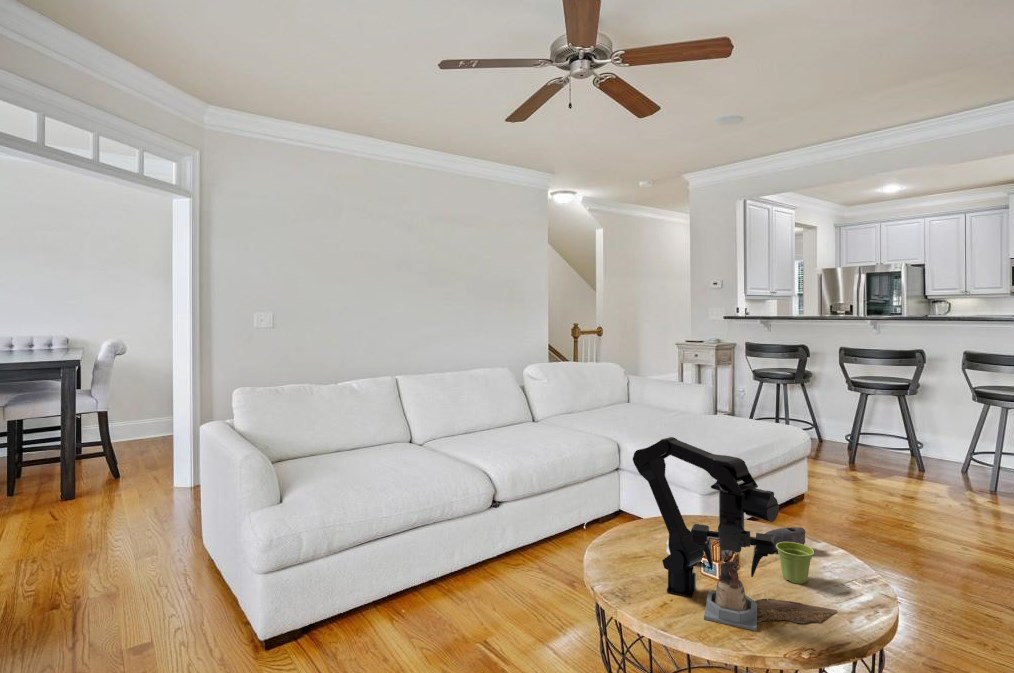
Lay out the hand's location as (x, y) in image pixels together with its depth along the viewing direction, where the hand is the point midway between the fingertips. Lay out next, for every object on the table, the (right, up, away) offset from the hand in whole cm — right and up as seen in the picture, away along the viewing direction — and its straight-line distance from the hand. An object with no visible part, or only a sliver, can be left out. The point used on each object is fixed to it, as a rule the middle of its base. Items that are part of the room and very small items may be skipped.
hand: (731, 572), depth 130 cm
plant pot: (+25, -10, +18) cm, 32 cm away
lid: (0, -10, +33) cm, 34 cm away
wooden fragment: (+14, -11, +1) cm, 18 cm away
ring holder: (0, -10, 0) cm, 10 cm away
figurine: (0, -10, 0) cm, 10 cm away
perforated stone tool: (+32, -9, +36) cm, 49 cm away
